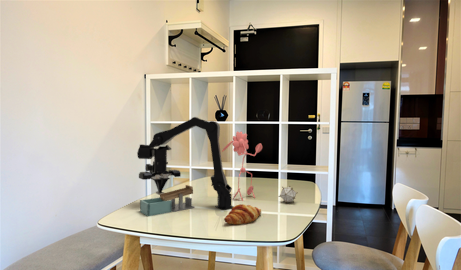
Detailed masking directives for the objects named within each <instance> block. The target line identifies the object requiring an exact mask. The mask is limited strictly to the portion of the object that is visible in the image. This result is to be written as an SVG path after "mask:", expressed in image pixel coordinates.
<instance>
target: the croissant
mask: <svg viewBox="0 0 461 270" xmlns="http://www.w3.org/2000/svg"><path fill="white" fill-rule="evenodd" d="M233 206H234V205H233ZM260 215H262V209H261V208H258V207H256V206H253V205H249V204H247V205H246V204H235V206H234V207H233V208H230V211H229V212H228V214H227V215H226V216H225V217H224V218H223V221H224V223H227V224H229V225H243V224H249V223H252V222H254V221H255V220H257V219H258V217H259V216H260Z"/></svg>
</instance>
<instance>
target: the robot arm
mask: <svg viewBox="0 0 461 270" xmlns="http://www.w3.org/2000/svg"><path fill="white" fill-rule="evenodd" d="M195 127H198V128H200V129H203V130H205V132H206V135H207V138H208V139H209V144H210V150H211V151H210V152H211V159H212V165H213V174H212V176H210V180H211V181H210V182H211V187H212V188H213V190H214V191H215V192H216V193H217V204H216V205H214V207H215V208H216V209H220V210H222V211H223V210H229V209H230V210H231V209H232V208H233V207H234V205H232V194H231V192H232V190H233V188H232V186H230V185H229V183H228V179H227V177H226V174H225V172H224V167H223V162H222V154H221V146H220V145H221V144H220V135H221V126H220V123H218V121H213V120H210V121H207V120H206V119H205V120H204V119H201V118H199V117H197V116H194V117H191V118H190V119H188V120H186V121H183V123H180V124H178V125H176V126H174V127H173V128H170V129H167V130H163V131H159V132H157V133H155V134H153V137H152V140H151V141H150V143H149V144H139V146H138V149H137V152H136V153H137V155H136V156H137V158H138V159H139V160H152V159H153V158H154V159H153V161H152V164H151V163H146V164H145V171H140V172H139V173H138V179H141V180H144V181H145V180H152V181H154V184H155V186H156V189H157V191H158V192H159V193H161V192H163V189H164V188H165V185H166V184H167V183H168V180H170V179H171V178H170V177H169V176H173V177H175V178H179V177H180V178H181V171H180V170H178V169H168V170H167V168H168V167H167V166H168V165H169V161H168V160H167V159H168V155H167V154H168V151H171V150H172V148H171V147H170V146H169V144H168V143H169V142H171V141H172V140H173V139H174V138H175V137H177V136H179V135H180V134H183V133H185V132H187V131H189V130H191V129H193V128H195ZM164 145H165V146H164Z"/></svg>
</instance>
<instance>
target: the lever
mask: <svg viewBox="0 0 461 270" xmlns="http://www.w3.org/2000/svg"><path fill="white" fill-rule="evenodd" d="M179 194H183V197H187V196H189V195H193V194H194V189H193V186H191V185H189V184H185V187H183V188H179V189H174V190H171V191H167V192H163V191H162V192H161V193H159V192H158V190H157V191H155V195H159V197H160V199H161V200H164V201H169V200H172V199H175V200H176V199H179Z"/></svg>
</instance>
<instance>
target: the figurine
mask: <svg viewBox="0 0 461 270" xmlns="http://www.w3.org/2000/svg"><path fill="white" fill-rule="evenodd" d="M247 136H248V134H247V133H243V131H240V132H239V131H236V132H235V135H233V136H232V140H231V141H229V142H228V143H227V144H226V146H224V148H222V150H221V152H222V153H223V152H224V151H226V150H227V149H228V148H229V147H230V146H231V145H232V146H233V150H232V151H233V152H234V153H236V154H237V155H238V156H239V157H240V156H243V158H242V164H241V168H240V173H239V175H238V177H240V176H241V173H243V174H244V173H248V174H250V175H251V176H250V184H252V180H253V173H251V172H249V171H246V168H245V167H244V161H245V157H246V156H247V155H250V156H253V157H255V156H256V155H257V154H258V153H260V152H262V150H263V145H262V143H258V144H257V145H256V146H255V153H254V154H252V153H248V151H247V150H248V149H249V144H248V143H249V140H248V139H247V138H248V137H247ZM237 183H238V184H237V191H236V193H233V194H231V196H233V195H234V196H233V197H232V200H234V199H235V198H236V197H237V195H239V196H240V199H241V201H242V202H243V201H244V199H243V197H242V193H241V188H240V178H238V182H237ZM246 194H247V195H248V196H250V195H251V194H252V196H253V198H254V199H255V198H256V196H255V194H254V186H253V185H250V186H249V187H248V189H247V191H246Z"/></svg>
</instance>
